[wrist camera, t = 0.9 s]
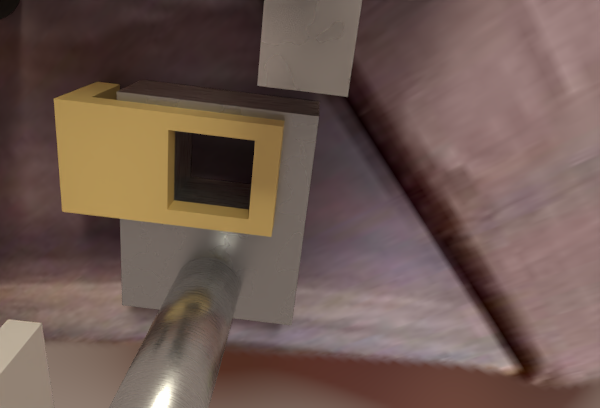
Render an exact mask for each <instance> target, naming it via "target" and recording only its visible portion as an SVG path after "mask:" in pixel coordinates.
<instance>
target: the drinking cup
mask: <svg viewBox="0 0 600 408" xmlns="http://www.w3.org/2000/svg"><path fill="white" fill-rule="evenodd" d="M18 3H19V0H0V19H2V18H4V17H6V16H8V15H9V14H11V13H12V12H13V11H14V9H15V8H16V7H17V5H18Z"/></svg>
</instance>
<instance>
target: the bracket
mask: <svg viewBox="0 0 600 408" xmlns="http://www.w3.org/2000/svg"><path fill="white" fill-rule="evenodd" d="M119 90H120V84H112V83H104V82H95V83H93V84H90V85H88V86H85V87H83V88H80V89H77V90H75V91H72V92H70V93H67V94H64V95H62V96H59V97H57V98H54V109H55V123H56V136H57V149H58V162H59V175H60V189H61V202H62V212H70V213H78V214H86V215H94V216H103V217H111V218H119V219H127V220H136V221H144V222H152V223H160V224H169V225H177V226H185V227H193V228H202V229H210V230H218V231H226V232H235V233H243V234H251V235H259V236H268V237H271V236H272V231H273V226H274V217H275V207H276V198H277V188H278V179H279V169H280V160H281V150H282V141H283V131H284V122H285V121H283V120H275V119H267V118H258V117H250V116H242V115H234V114H226V113H218V112H210V111H202V110H194V109H185V108H177V107H169V106H161V105H153V104H145V103H137V102H129V101H120V100H117V91H119ZM175 131H180V132H189V133H197V134H205V135H213V136H221V137H229V138H237V139H246V140H254V141H255V148H254V160H253V172H252V184H251V196H250V208H249V209H241V208H233V207H225V206H217V205H208V204H200V203H192V202H184V201H176V200H174V166H175Z"/></svg>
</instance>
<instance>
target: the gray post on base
mask: <svg viewBox="0 0 600 408" xmlns="http://www.w3.org/2000/svg"><path fill="white" fill-rule="evenodd" d="M117 100H120V101H129V102H137V103H145V104H153V105H161V106H169V107H177V108H185V109H194V110H202V111H210V112H218V113H226V114H234V115H242V116H250V117H258V118H267V119H275V120H283V121H285V122H284V131H283V141H282V150H281V160H280V169H279V179H278V188H277V198H276V207H275V217H274V226H273V231H272V236H271V237H268V236H259V235H251V234H243V233H235V232H226V231H218V230H210V229H202V228H193V227H185V226H177V225H169V224H160V223H152V222H144V221H136V220H127V219H120V240H121V277H122V305H125V306H133V307H142V308H150V309H158V310H159V312H158V314H157V315H156V317H155V319H154V321H153V323H152V325H151V327H150V329H149V331H148V333H147V335H146V337H145V339H144V341H143V343H142V345H141V347H140V349H139V351H138V353H137V355H136V357H135V358H134V360H133V362H132V364H131V366H130V368H129V370H128V372H127V374H126V376H125V378H124V380H123V382H122V384H121V386H120V388H119V390H118V391H117V393H116V395H115V397H114V399H113V401H112V403H111V405H110V407H109V408H209V404H210V401H211V397H212V393H213V389H214V386H215V382H216V378H217V375H218V371H219V367H220V364H221V360H222V357H223V353H224V349H225V345H226V342H227V338H228V334H229V331H230V327H231V323H232V320H233V318H234V319H242V320H251V321H259V322H267V323H276V324H284V325H292V318H293V311H294V303H295V296H296V288H297V281H298V273H299V265H300V258H301V250H302V243H303V235H304V227H305V220H306V212H307V205H308V197H309V190H310V182H311V174H312V167H313V159H314V152H315V144H316V137H317V129H318V121H319V102H318V101H310V100H302V99H294V98H286V97H278V96H270V95H262V94H254V93H246V92H238V91H229V90H221V89H213V88H205V87H197V86H189V85H181V84H173V83H165V82H157V81H149V80H140V81H138V82H136V83H134V84H132V85H129V86H127V87H125V88H123V89H121V90H119V91H117ZM191 154H192V133H189V132H180V131H175V166H174V200H176V201H184V202H192V203H200V204H208V205H217V206H225V207H233V208H241V209H249V208H250V196H251V184H246V183H238V182H230V181H222V180H213V179H205V178H197V177H191Z"/></svg>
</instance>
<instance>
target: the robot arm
mask: <svg viewBox="0 0 600 408" xmlns="http://www.w3.org/2000/svg"><path fill="white" fill-rule="evenodd" d="M52 396H53V395H52V389H51V382H50V376H49V368H48V362H47V356H46V348H45V341H44V335H43V328H42V323H37V322H28V321H18V320H9V319H8V320H7V321H6V322H5V323H4V324H3V325H2V326H1V327H0V408H54V402H53V397H52Z"/></svg>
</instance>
